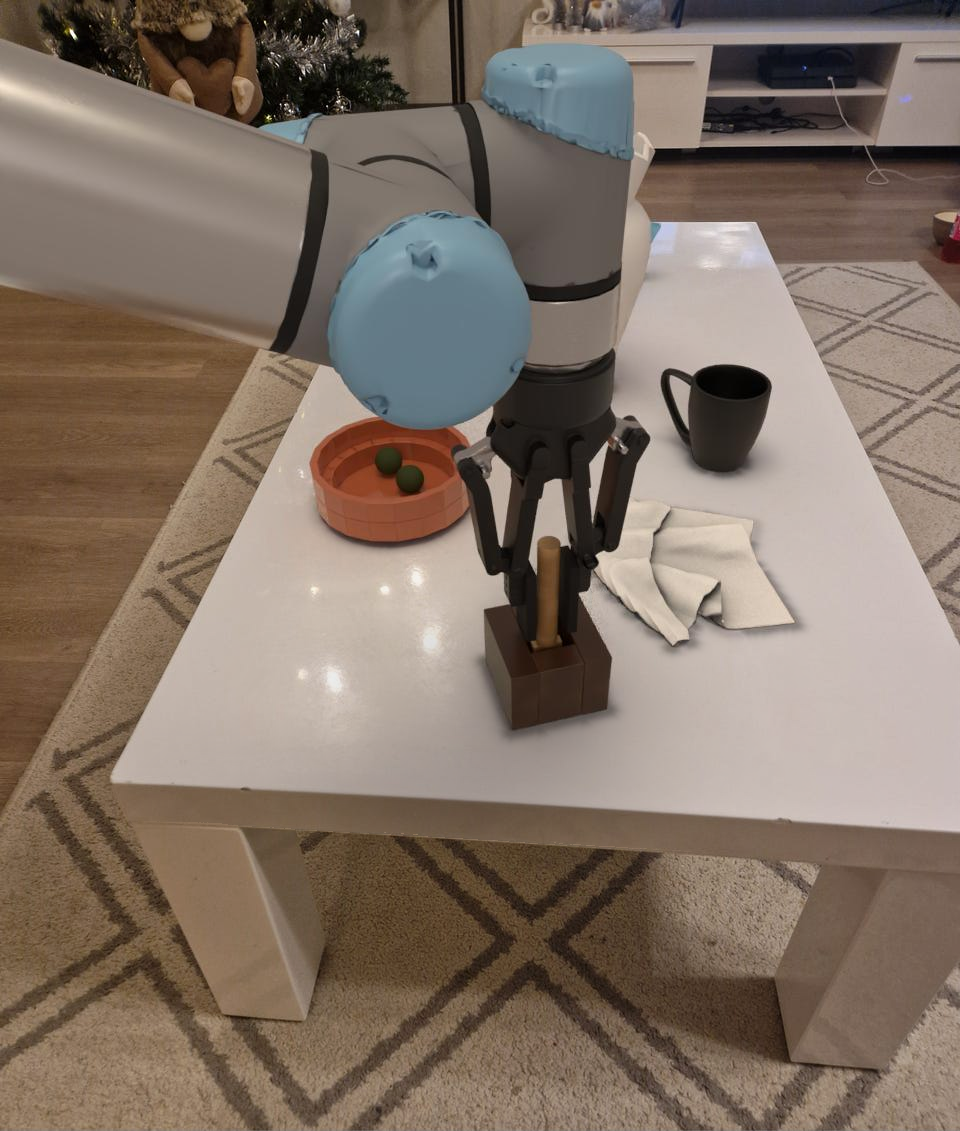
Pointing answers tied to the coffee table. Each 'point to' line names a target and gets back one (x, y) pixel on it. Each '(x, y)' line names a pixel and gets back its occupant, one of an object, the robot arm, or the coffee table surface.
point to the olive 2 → (409, 478)
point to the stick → (547, 594)
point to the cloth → (689, 571)
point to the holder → (546, 669)
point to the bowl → (387, 481)
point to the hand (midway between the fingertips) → (546, 624)
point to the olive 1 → (388, 460)
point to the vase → (634, 235)
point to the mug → (720, 413)
